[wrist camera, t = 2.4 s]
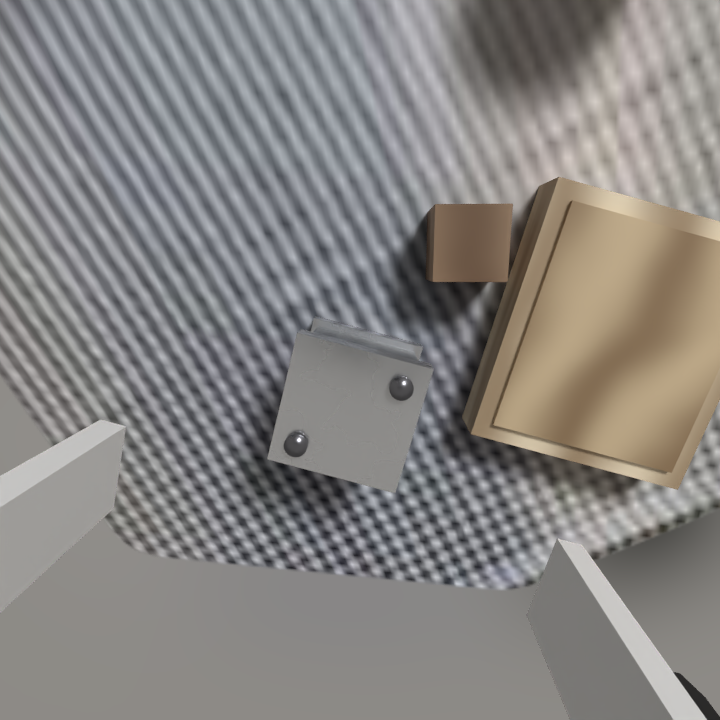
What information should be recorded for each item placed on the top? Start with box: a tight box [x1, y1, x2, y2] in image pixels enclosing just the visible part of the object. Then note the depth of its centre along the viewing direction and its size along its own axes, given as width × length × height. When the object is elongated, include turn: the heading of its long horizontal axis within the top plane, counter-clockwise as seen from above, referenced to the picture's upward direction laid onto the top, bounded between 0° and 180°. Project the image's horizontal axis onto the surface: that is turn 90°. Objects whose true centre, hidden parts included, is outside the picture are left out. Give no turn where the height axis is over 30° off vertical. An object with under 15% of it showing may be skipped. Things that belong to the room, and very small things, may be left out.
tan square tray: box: [462, 177, 720, 490], centre depth 27 cm, size 13×15×3 cm
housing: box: [267, 316, 434, 493], centre depth 26 cm, size 7×7×7 cm
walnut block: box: [426, 204, 513, 282], centre depth 26 cm, size 4×4×4 cm
